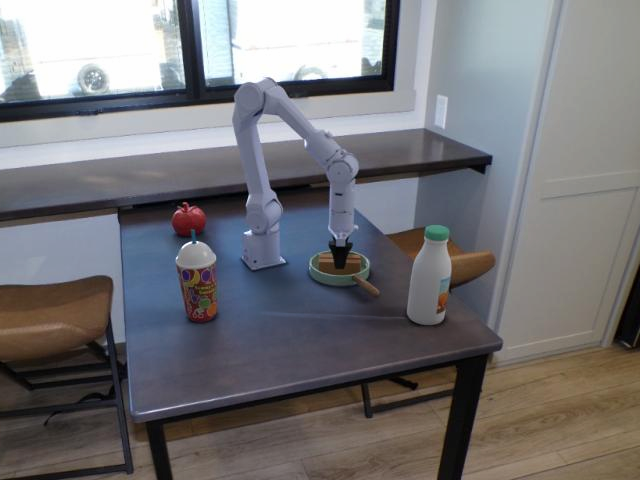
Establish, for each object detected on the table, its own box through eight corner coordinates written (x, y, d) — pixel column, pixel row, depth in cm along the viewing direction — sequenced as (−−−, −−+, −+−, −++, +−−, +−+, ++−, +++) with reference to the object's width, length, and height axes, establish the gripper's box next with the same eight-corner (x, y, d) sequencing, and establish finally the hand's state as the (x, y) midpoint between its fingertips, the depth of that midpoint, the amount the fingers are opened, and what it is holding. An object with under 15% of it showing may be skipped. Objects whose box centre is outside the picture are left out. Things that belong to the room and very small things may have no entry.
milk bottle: (423, 330, 106) (436, 239, 96) (398, 313, 112) (408, 226, 102) (452, 320, 109) (467, 231, 99) (426, 303, 115) (438, 218, 105)
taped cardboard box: (318, 275, 127) (318, 261, 125) (319, 266, 131) (319, 253, 129) (359, 276, 126) (360, 262, 124) (359, 267, 130) (360, 254, 128)
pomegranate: (213, 233, 153) (210, 203, 148) (182, 241, 148) (178, 211, 144) (197, 223, 160) (194, 194, 155) (167, 231, 155) (163, 201, 151)
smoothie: (205, 329, 108) (195, 241, 98) (175, 319, 112) (162, 233, 102) (229, 311, 114) (222, 226, 104) (199, 302, 118) (190, 219, 108)
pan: (326, 292, 120) (327, 281, 119) (299, 267, 132) (299, 256, 131) (380, 279, 125) (381, 268, 124) (349, 256, 137) (350, 245, 135)
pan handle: (350, 280, 122) (350, 273, 121) (357, 278, 123) (357, 271, 122) (374, 299, 114) (374, 292, 113) (381, 297, 114) (381, 290, 114)
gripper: (359, 220, 114) (356, 275, 120) (358, 198, 126) (355, 249, 133) (327, 219, 114) (326, 274, 121) (329, 198, 127) (328, 248, 134)
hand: (339, 261), depth 127 cm, fingers open, 7 cm apart
